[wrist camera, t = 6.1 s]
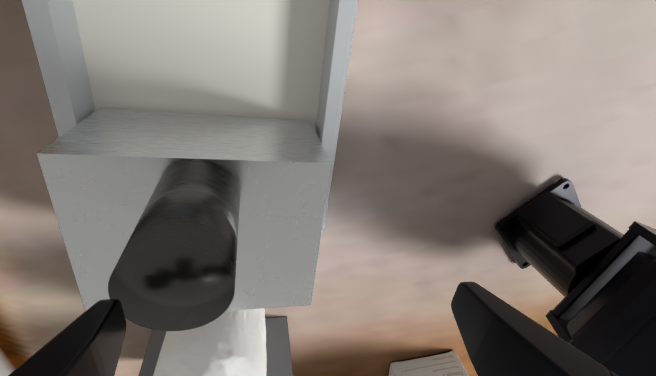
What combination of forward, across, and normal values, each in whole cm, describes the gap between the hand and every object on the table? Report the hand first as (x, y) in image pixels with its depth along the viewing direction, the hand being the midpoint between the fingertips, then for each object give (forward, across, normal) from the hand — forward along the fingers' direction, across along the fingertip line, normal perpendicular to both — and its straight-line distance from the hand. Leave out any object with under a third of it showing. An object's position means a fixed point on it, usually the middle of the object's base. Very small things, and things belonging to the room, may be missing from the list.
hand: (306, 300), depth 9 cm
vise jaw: (+11, +4, +2) cm, 12 cm away
